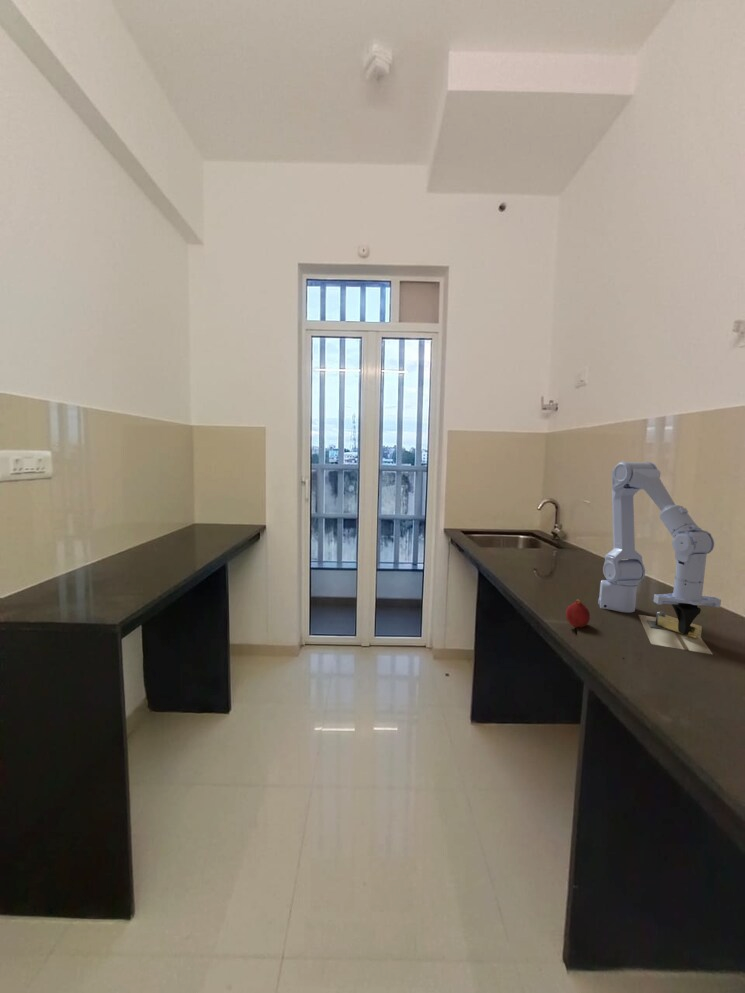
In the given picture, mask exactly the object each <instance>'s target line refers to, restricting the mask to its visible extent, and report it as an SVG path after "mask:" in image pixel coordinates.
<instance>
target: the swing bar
mask: <svg viewBox="0 0 745 993" xmlns="http://www.w3.org/2000/svg"><path fill="white" fill-rule="evenodd" d="M655 617H656V623H655V624H656V625H659V626H662V627H664V628H667V629H670V630H673V631H676V632H679V631H678V622H679V621H678V618H677V617H674V616H671V615H668V614H666V612H665V611H662V610H657V611H656V615H655ZM702 628H703V626H702V625H700V624H696V623H693V622H692V623H691V625H690V629H689V633H688V636H690V637H693V638H698V637H701V638H702V630H703V629H702ZM679 633H680V632H679Z"/></svg>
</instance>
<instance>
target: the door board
mask: <svg viewBox="0 0 745 993" xmlns="http://www.w3.org/2000/svg"><path fill="white" fill-rule="evenodd" d="M638 617H639V620H640V622H641V624H642V627H643V629H644V631H645V633H646V636H647V638H648V640H649V642H650V644H651V645H655V646H659V647H666V648H672V649H677V650H685V651H690V652H695V653H702V654H707V655H712V656H713V654H714V653H713V652H712V651H711V649H710V648H709V647H708V645H707V644H706V643H705V641H704V640H703V639H702V636H701V637H698V638H693V637H690V636H688V635H684V634H682V633H679V632H676V631H673V630H670V629H667V628H664V627H662V626H659V625H656V624H655V623H656V616H649V615H644V614H638Z"/></svg>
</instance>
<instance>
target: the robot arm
mask: <svg viewBox="0 0 745 993" xmlns="http://www.w3.org/2000/svg"><path fill="white" fill-rule="evenodd" d="M611 487H612V488H611V506H612V509H611V510H612V543H613V545H612V546H613V549H611V550H610V551H608V552H607V553H606V554H605V555H604V563H603V567H602V573H603V576H604V577H605V579H601V580H600V584H599V597H598V599H597V600H598V601H597V604H598V605H599V608H600V609H604V610H611V611H616V612H619V613H620V612H621V613H633V612H635V611H636V601H637V600H636V599H637V589H638V585H639V584H640V581H642V580H643V579H644V577H645V575H646V567H645V565H644V563H643V556H642V555H641V554H640V553H639V552H638V551H637V550H636V549H635V542H636V541H635V515H634V513H635V512H634V511H635V510H634V508H635V507H634V506H635V505H634V496H635V495H636V494H637V493H638V492H639V491H641V490H644V491H645V493H646V494H647V495H648V497H649V498H650V499H651V500H652V501H653V503H654V504H655V505H656V506H657V507H658V509H659V510H660V513H659V518H660V519H659V520H661V521H662V523H663V525H664V526H665V528H666V529H667V531H668V532H669V534H670V535H671V537H672V538H673V540H671V546H672V549H673V550H674V558H675V560H676V562H675V564H676V565H675V572H674V573H675V575H674V582H673V592H672V593H662V594H659V593H658V594H657V593H656V594H655V593H654V594H653V602H654V603H656V604H657V605H661V606H662V605H663V604H664V605H671V606H672V608H673V610H674V612H675V614H676V618H677V619H678V621H679V622H678V631H679V632H680V633H682V634H684V635H688V633H689V629H690V625H691V623H693V621H694V620H695V619H696V618H697V617H698V616H699V615H700V613H701V612H702V611H701V607H698V606H703V607H715V608H721V602H722V600H721V599H720V598H718V597H716V596H706V595H703V592H704V582H705V581H704V579H705V571H706V563H707V555H708V554H711V552H712V551H713V550H714V548H715V541H714V538H713V536H712V534H711V533H710V532H709V531H707V530H703V529H702V528H701V527H699V526H698V524H696V522H695V521H694V519H693V518H692V517H691V516H690V514H689V511H688V509H687V508H686V507H684V506H682V505H677V504H675V502H674V499H672V497H671V495H670V494H669V492H668V490H667V489H666V486H665V485H664V483H663V482H662V480H661V471H660V470H659V469H658V467H657V465H656V464H655V463H653V462H651V461H649V462H648V461H646V462H630V461H629V462H628V461H619V463H617V464H616V465H615V467H614V468H613V469H612V470H611Z"/></svg>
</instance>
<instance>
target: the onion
mask: <svg viewBox="0 0 745 993" xmlns="http://www.w3.org/2000/svg"><path fill="white" fill-rule="evenodd" d="M565 618H566V619H565V620H567V622H568V624H570V626H572V627H573V628H574V627H575V628H577V629H578V628H584V627H586V626H587V625H588V624H589V622H590V619H591V615H590V611H589V609H588V608H587V606H586V605H585V604H584V603H582V601H581V600H580V599H576V600H575V602H572V603H571V604H570V605H569V606H567V608H566V611H565ZM575 628H574V629H575Z"/></svg>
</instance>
